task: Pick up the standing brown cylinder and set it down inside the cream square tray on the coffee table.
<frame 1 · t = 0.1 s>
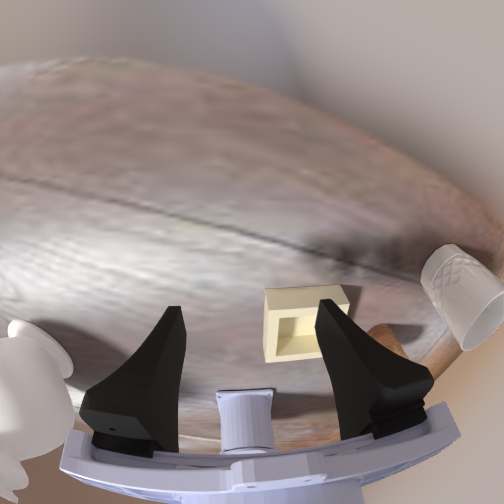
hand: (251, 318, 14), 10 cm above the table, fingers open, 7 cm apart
white cup: (440, 266, 27), on the table
cream square tray: (299, 315, 28), on the table
decorative vase: (40, 349, 30), on the table
brown cylinder: (377, 334, 31), on the table
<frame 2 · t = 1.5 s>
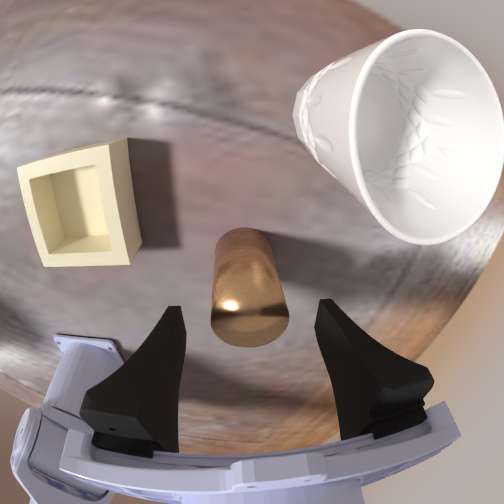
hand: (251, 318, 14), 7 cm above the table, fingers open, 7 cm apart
white cup: (341, 117, 15), on the table
cream square tray: (87, 197, 16), on the table
brown cylinder: (243, 253, 20), on the table
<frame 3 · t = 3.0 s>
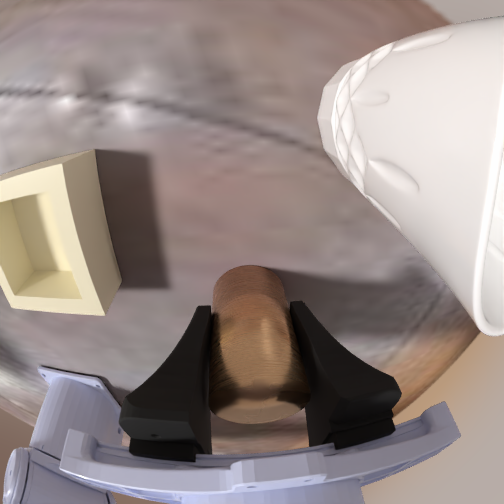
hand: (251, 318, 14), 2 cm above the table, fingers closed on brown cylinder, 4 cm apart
white cup: (378, 122, 11), on the table
cream square tray: (53, 225, 12), on the table
brown cylinder: (248, 294, 15), on the table, touching gripper
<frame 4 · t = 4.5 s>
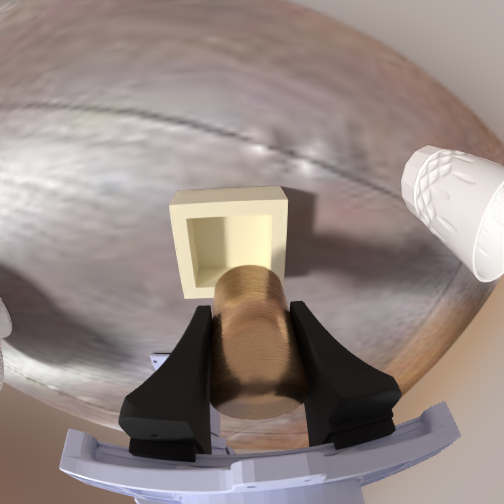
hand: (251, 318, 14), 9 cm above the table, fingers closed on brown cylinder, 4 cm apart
white cup: (427, 180, 20), on the table
cream square tray: (230, 234, 21), on the table
brown cylinder: (248, 293, 16), point 7 cm above the table, touching gripper
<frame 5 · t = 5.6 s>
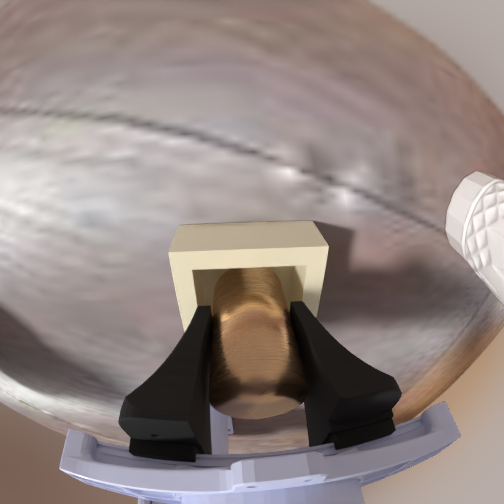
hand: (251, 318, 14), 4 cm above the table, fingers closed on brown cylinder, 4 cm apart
white cup: (470, 210, 16), on the table
cream square tray: (246, 278, 17), on the table
brown cylinder: (248, 293, 16), point 1 cm above the table, touching gripper
when the fingers open (3 cm above the table, at t = 6.4 s): brown cylinder stays where it is, resting on cream square tray.
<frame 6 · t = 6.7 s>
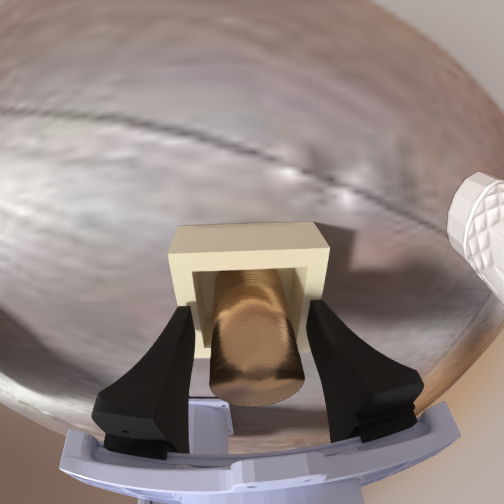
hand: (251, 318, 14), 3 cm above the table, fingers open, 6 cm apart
white cup: (472, 211, 16), on the table
cream square tray: (247, 279, 17), on the table
brown cylinder: (248, 285, 16), resting on cream square tray
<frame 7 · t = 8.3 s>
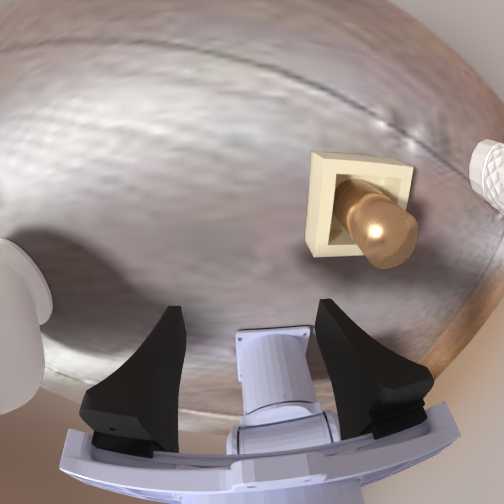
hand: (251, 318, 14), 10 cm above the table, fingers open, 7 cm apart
white cup: (484, 167, 20), on the table
cream square tray: (350, 198, 21), on the table
decorative vase: (15, 282, 23), on the table
brown cylinder: (352, 201, 21), resting on cream square tray
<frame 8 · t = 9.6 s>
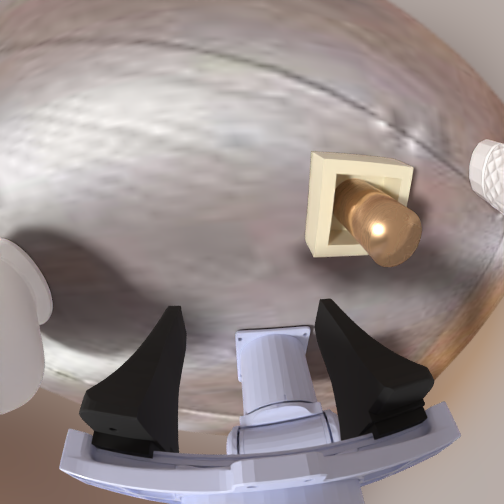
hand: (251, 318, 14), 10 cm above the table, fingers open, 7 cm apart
white cup: (484, 167, 20), on the table
cream square tray: (350, 198, 21), on the table
decorative vase: (15, 282, 23), on the table
brown cylinder: (353, 201, 21), resting on cream square tray
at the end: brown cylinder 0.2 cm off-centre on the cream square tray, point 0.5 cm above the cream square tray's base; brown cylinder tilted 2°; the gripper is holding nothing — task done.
